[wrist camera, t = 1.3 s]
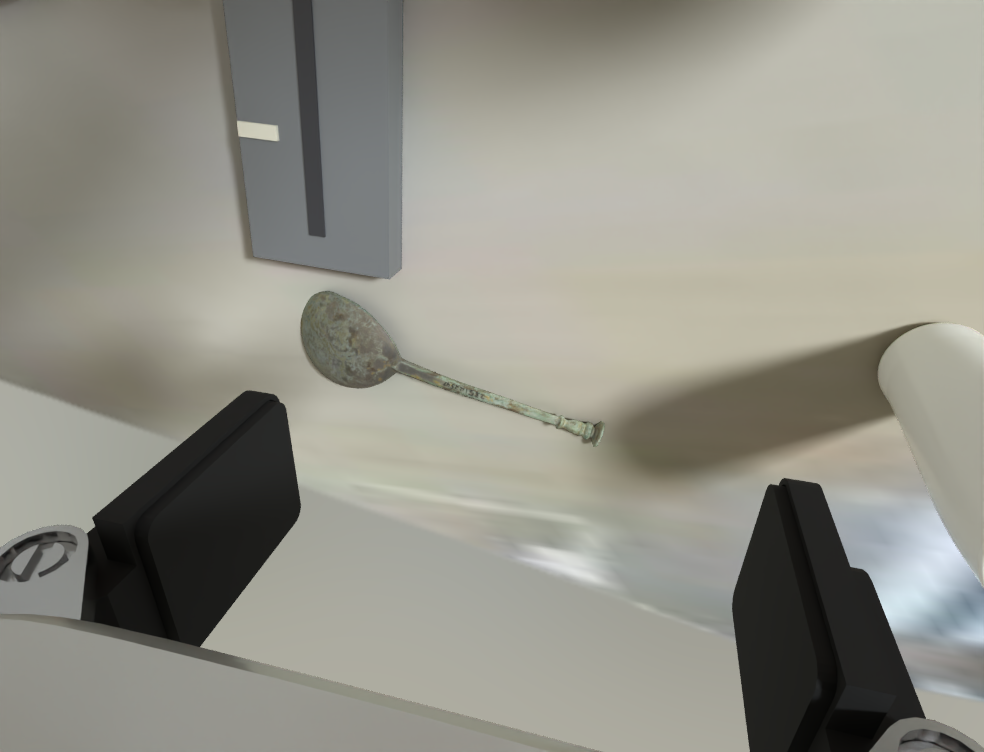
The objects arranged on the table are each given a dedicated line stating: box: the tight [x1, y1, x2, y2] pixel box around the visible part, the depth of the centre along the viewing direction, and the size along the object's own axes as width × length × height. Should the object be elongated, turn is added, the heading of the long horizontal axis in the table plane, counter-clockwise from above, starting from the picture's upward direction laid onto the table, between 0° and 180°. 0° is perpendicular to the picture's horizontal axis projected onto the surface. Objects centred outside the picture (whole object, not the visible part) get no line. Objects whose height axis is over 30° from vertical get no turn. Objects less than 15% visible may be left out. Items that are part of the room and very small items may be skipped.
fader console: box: [223, 0, 403, 279], centre depth 32 cm, size 23×9×2 cm, turn 176°
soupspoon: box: [301, 291, 605, 447], centre depth 40 cm, size 22×3×7 cm
